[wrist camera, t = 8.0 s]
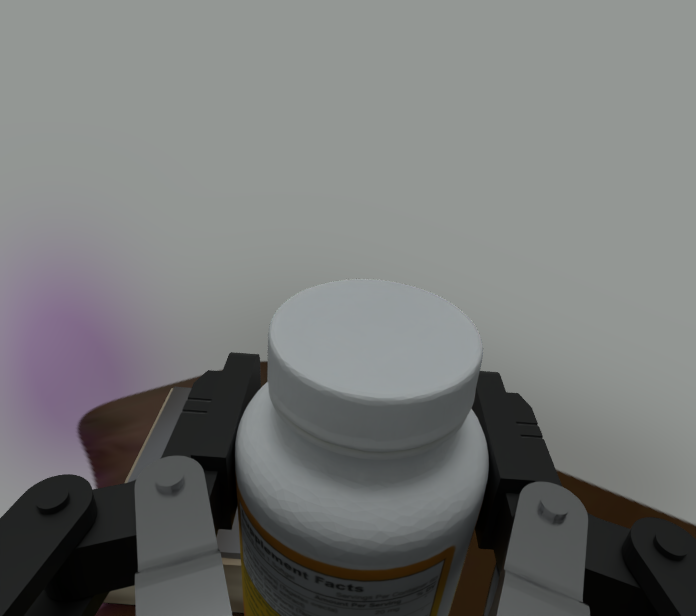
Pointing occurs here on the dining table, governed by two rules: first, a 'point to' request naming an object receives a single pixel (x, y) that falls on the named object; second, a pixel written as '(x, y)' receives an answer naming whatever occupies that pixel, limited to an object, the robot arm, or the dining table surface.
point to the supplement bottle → (361, 455)
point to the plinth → (225, 538)
